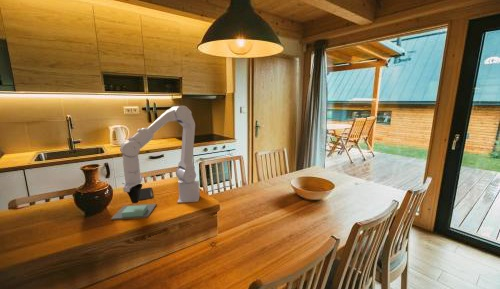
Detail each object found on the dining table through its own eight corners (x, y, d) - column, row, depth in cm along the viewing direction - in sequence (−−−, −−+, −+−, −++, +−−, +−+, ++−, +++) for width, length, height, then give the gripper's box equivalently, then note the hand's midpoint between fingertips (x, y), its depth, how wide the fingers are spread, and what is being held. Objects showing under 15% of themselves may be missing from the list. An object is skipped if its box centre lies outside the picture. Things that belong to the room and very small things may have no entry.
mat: (156, 205, 105) (156, 203, 105) (148, 217, 93) (147, 216, 93) (124, 207, 103) (123, 205, 103) (111, 220, 91) (111, 218, 91)
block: (147, 205, 99) (142, 211, 93) (147, 209, 99) (143, 216, 93) (127, 206, 98) (121, 212, 92) (128, 210, 98) (122, 217, 92)
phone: (151, 187, 126) (153, 196, 113) (152, 189, 126) (153, 198, 113) (135, 189, 123) (135, 199, 109) (136, 191, 123) (135, 201, 110)
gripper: (128, 166, 100) (132, 196, 103) (113, 176, 86) (117, 210, 88) (145, 165, 101) (148, 195, 103) (133, 175, 87) (136, 209, 89)
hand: (135, 202), depth 96 cm, fingers closed
